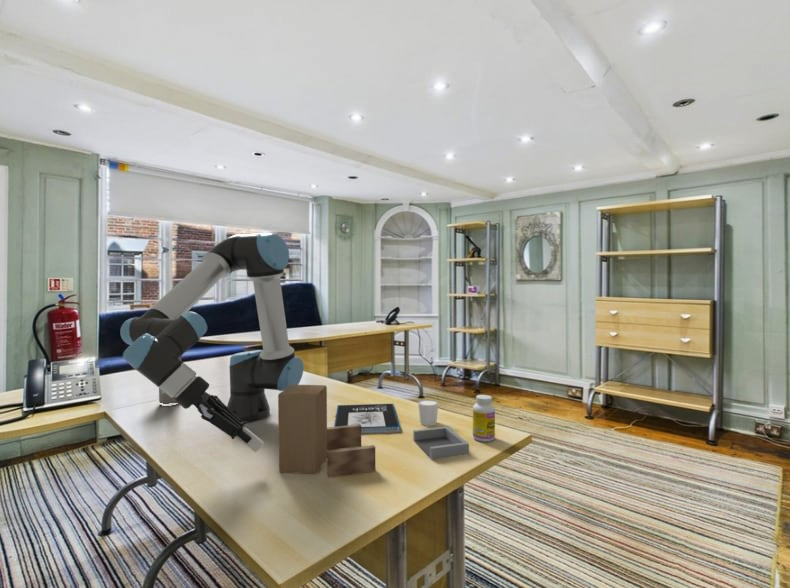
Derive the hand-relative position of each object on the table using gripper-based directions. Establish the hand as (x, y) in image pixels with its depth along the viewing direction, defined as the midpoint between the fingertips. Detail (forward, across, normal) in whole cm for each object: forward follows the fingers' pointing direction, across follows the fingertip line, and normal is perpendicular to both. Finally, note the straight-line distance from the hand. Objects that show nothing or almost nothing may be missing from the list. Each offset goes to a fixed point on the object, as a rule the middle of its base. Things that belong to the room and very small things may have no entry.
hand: (259, 447), depth 103 cm
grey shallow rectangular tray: (+39, 0, +30) cm, 49 cm away
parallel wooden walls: (+20, 0, +11) cm, 23 cm away
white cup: (+43, -20, +34) cm, 58 cm away
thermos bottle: (-20, -72, -29) cm, 80 cm away
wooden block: (+12, 0, +3) cm, 13 cm away
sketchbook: (+30, -31, +20) cm, 47 cm away
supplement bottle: (+50, -2, +42) cm, 65 cm away
